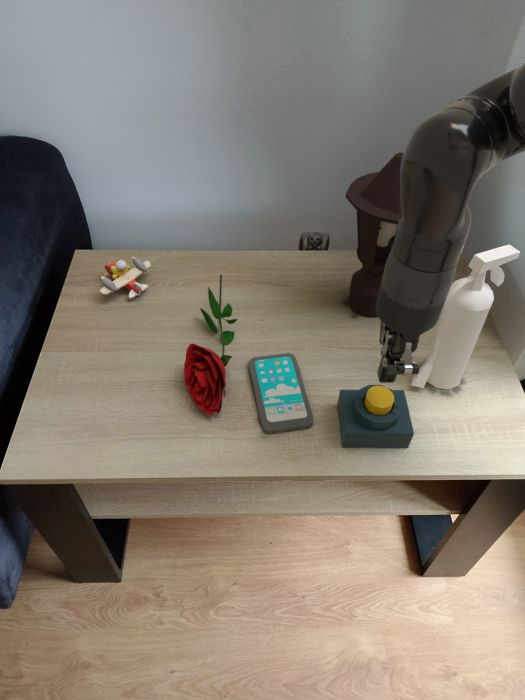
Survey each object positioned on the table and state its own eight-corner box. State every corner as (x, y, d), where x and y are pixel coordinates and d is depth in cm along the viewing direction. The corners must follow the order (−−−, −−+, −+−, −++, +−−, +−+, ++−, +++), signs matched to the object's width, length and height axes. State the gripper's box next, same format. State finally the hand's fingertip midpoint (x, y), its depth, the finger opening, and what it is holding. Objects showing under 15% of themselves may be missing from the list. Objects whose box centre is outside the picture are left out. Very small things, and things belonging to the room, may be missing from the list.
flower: (202, 248, 91) (194, 390, 73) (249, 265, 94) (252, 405, 76) (183, 280, 97) (171, 418, 79) (228, 295, 101) (226, 431, 83)
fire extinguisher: (394, 374, 87) (432, 256, 68) (450, 351, 90) (501, 233, 72) (419, 403, 83) (467, 286, 64) (477, 378, 86) (538, 260, 68)
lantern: (418, 326, 94) (468, 177, 72) (340, 334, 93) (367, 184, 70) (393, 275, 104) (431, 129, 82) (322, 281, 103) (341, 135, 80)
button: (389, 393, 77) (391, 385, 75) (393, 416, 74) (396, 407, 73) (362, 393, 77) (364, 385, 75) (366, 415, 74) (368, 407, 73)
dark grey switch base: (398, 404, 82) (407, 381, 78) (408, 448, 77) (417, 426, 73) (337, 404, 82) (341, 381, 78) (342, 447, 77) (347, 425, 72)
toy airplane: (108, 274, 103) (100, 248, 98) (153, 273, 104) (148, 247, 99) (101, 305, 97) (93, 279, 92) (149, 303, 98) (143, 277, 93)
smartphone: (262, 431, 77) (246, 357, 87) (262, 434, 78) (246, 361, 88) (316, 423, 78) (295, 351, 88) (316, 426, 79) (294, 355, 89)
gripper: (463, 326, 54) (422, 418, 67) (435, 248, 62) (403, 343, 75) (392, 325, 54) (364, 417, 67) (373, 247, 62) (352, 343, 75)
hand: (385, 378), depth 71 cm, fingers closed
